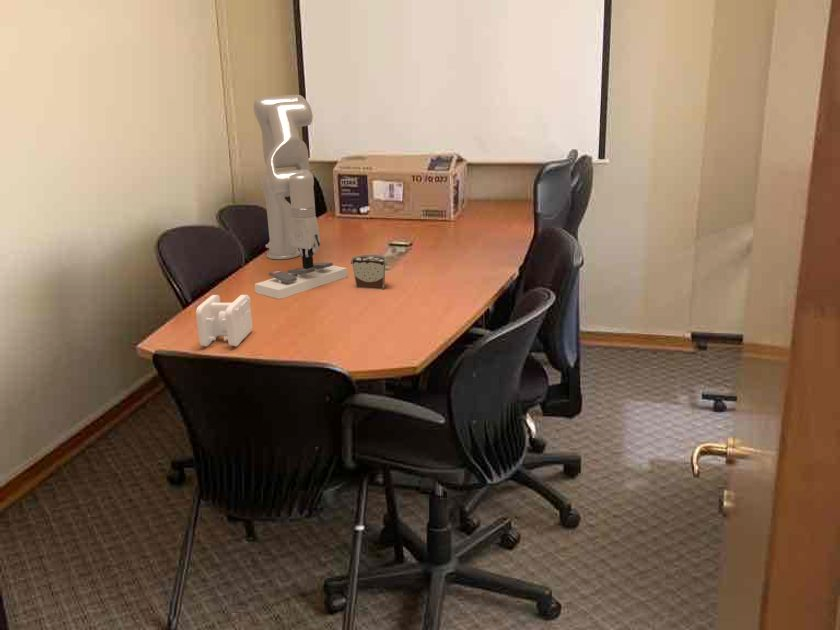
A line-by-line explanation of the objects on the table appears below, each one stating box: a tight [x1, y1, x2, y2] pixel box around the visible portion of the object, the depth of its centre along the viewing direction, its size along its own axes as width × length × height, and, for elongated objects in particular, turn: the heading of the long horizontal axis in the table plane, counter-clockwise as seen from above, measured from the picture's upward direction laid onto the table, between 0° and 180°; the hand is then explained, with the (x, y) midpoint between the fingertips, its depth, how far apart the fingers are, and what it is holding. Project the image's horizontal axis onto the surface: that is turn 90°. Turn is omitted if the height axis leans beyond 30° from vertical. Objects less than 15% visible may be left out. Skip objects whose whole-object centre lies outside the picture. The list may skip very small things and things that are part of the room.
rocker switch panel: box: [254, 264, 348, 300], centre depth 289 cm, size 12×30×4 cm, turn 139°
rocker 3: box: [312, 261, 334, 268], centre depth 294 cm, size 9×4×1 cm, turn 49°
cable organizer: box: [195, 294, 253, 348], centre depth 240 cm, size 15×11×12 cm
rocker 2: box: [287, 267, 315, 274], centre depth 288 cm, size 9×4×1 cm, turn 49°
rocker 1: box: [268, 269, 297, 283], centre depth 283 cm, size 9×4×1 cm, turn 49°
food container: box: [350, 253, 388, 291], centre depth 283 cm, size 12×6×10 cm, turn 71°
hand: (308, 267), depth 285 cm, fingers closed
